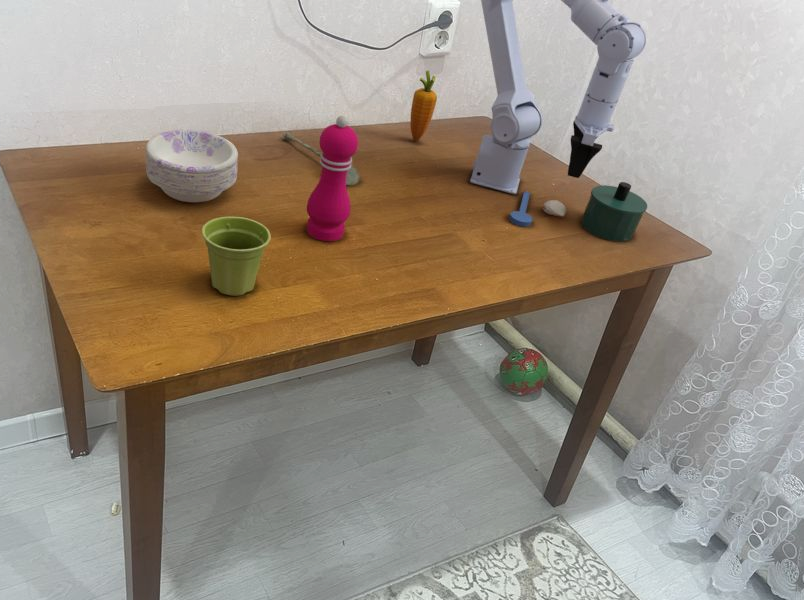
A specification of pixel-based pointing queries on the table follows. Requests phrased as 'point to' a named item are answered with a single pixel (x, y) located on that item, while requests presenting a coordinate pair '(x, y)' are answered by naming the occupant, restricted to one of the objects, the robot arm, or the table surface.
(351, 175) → the soupspoon
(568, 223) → the table surface
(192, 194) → the paper bowls
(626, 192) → the saucepan lid
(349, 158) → the pepper mill
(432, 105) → the carrot
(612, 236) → the saucepan
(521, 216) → the blue spoon
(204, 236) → the plant pot
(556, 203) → the cream teardrop shape
